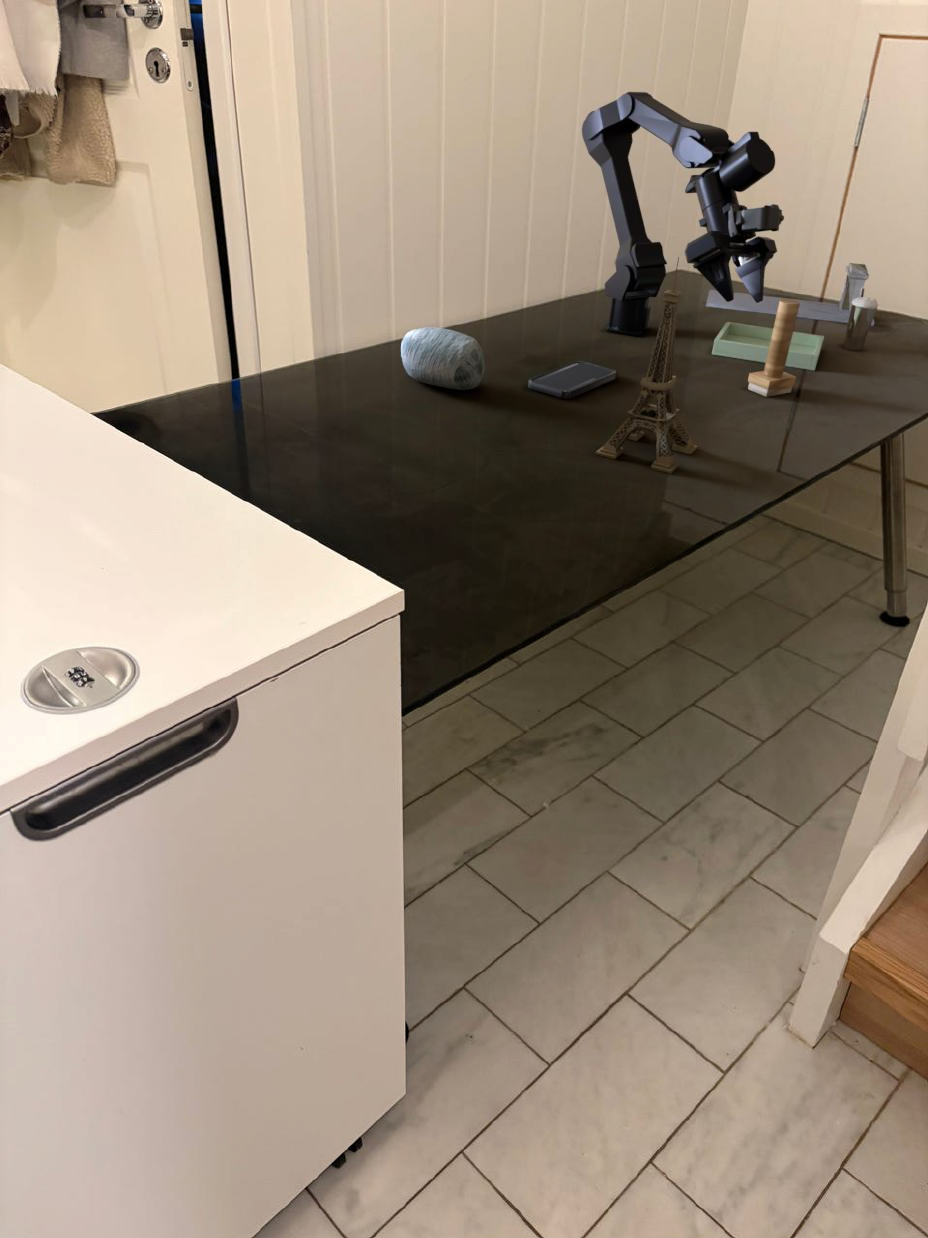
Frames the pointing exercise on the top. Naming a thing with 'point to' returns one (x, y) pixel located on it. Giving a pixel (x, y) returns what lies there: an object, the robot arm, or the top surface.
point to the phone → (572, 379)
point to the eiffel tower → (665, 411)
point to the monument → (806, 308)
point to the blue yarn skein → (443, 358)
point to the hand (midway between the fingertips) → (745, 301)
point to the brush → (777, 354)
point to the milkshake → (859, 321)
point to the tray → (766, 345)
